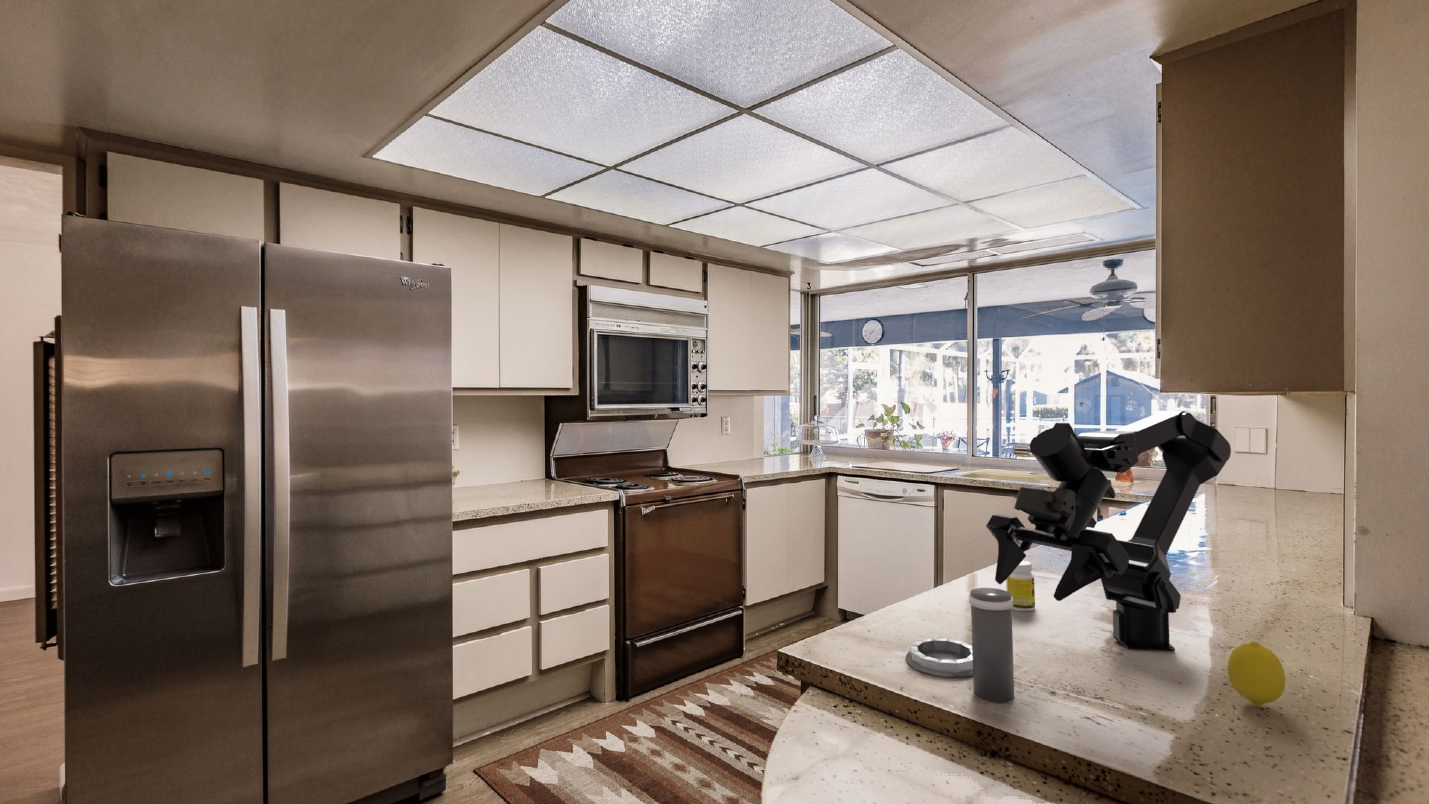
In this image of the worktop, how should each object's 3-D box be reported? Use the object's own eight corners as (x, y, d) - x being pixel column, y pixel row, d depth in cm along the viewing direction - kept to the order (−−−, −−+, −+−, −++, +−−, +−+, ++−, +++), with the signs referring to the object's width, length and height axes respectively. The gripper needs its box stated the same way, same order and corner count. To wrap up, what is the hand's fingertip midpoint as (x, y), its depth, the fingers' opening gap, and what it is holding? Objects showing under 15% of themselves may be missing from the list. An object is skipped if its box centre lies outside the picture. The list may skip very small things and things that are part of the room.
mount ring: (976, 649, 102) (976, 638, 102) (990, 679, 91) (990, 667, 91) (903, 646, 104) (903, 635, 104) (909, 675, 94) (908, 663, 94)
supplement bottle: (1038, 612, 118) (1037, 566, 118) (1010, 611, 119) (1009, 565, 119) (1031, 604, 123) (1029, 559, 123) (1004, 603, 124) (1002, 559, 123)
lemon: (1217, 697, 84) (1215, 635, 84) (1257, 694, 85) (1255, 632, 84) (1256, 718, 79) (1254, 652, 78) (1298, 714, 79) (1297, 649, 79)
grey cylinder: (1010, 686, 89) (1007, 587, 89) (1020, 705, 84) (1017, 600, 84) (968, 684, 90) (965, 586, 90) (976, 702, 85) (972, 599, 85)
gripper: (992, 461, 101) (942, 542, 96) (1113, 471, 84) (1060, 570, 79) (1028, 507, 104) (981, 587, 99) (1151, 525, 88) (1102, 623, 83)
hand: (1025, 590), depth 90 cm, fingers open, 9 cm apart
